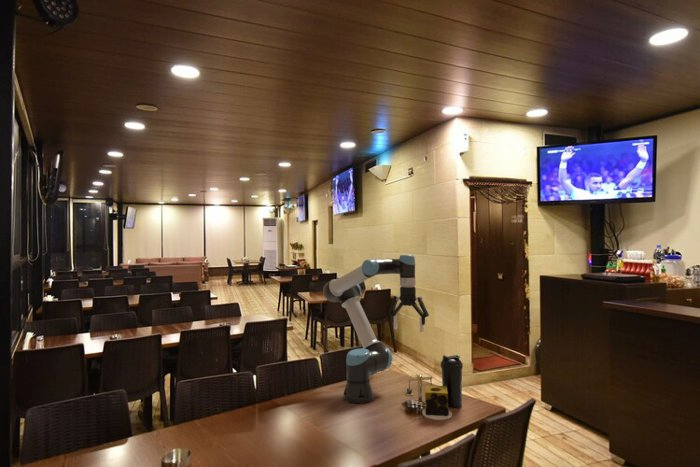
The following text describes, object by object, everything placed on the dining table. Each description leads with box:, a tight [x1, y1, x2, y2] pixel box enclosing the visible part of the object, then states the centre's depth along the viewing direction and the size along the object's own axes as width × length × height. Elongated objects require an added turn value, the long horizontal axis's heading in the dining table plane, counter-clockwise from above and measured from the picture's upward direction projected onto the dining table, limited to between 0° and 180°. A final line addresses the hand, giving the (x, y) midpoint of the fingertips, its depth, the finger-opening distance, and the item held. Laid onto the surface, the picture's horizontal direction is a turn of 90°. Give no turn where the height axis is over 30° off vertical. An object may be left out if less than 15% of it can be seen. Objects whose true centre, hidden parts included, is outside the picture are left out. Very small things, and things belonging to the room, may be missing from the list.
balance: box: [403, 374, 433, 403], centre depth 199 cm, size 16×5×14 cm, turn 59°
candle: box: [424, 385, 450, 416], centre depth 186 cm, size 10×10×10 cm
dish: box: [422, 408, 453, 421], centre depth 186 cm, size 13×13×1 cm
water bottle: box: [440, 354, 464, 409], centre depth 197 cm, size 10×10×23 cm
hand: (408, 330), depth 202 cm, fingers open, 13 cm apart
